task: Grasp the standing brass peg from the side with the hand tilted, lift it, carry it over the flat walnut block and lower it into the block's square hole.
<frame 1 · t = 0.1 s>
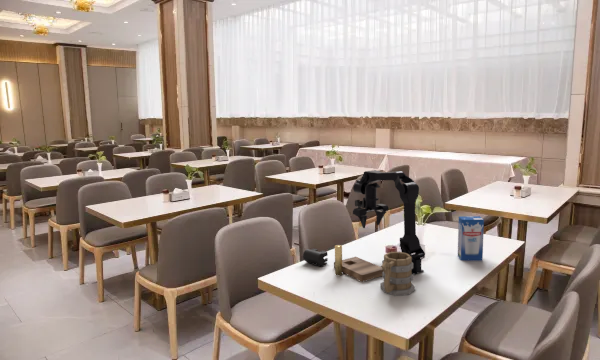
hand: (370, 226, 214), 15 cm above the table, tool pointing down, fingers open, 9 cm apart
hole block: (358, 271, 194), on the table
tankard: (393, 292, 171), on the table
milk carton: (469, 258, 207), on the table
end cap: (315, 264, 205), on the table
peg: (338, 274, 191), on the table
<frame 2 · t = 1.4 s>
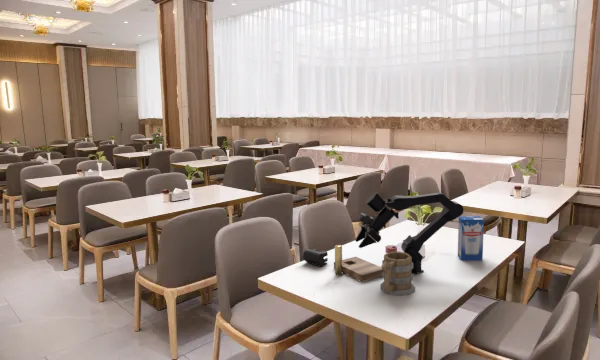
hand: (357, 244, 190), 13 cm above the table, tool tilted 45°, fingers open, 9 cm apart
nothing on the table moved.
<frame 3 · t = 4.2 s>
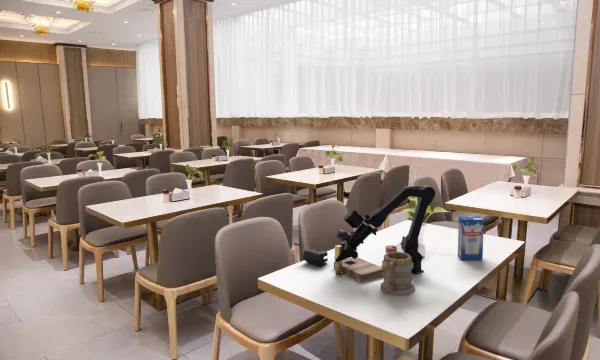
hand: (335, 260, 190), 7 cm above the table, tool tilted 45°, fingers closed on peg, 3 cm apart
peg: (338, 274, 191), on the table, touching gripper
everything else where it was.
when the fingers open (8 cm above the table, at t = 7.3 s): peg drops 1 cm, resting in hole block.
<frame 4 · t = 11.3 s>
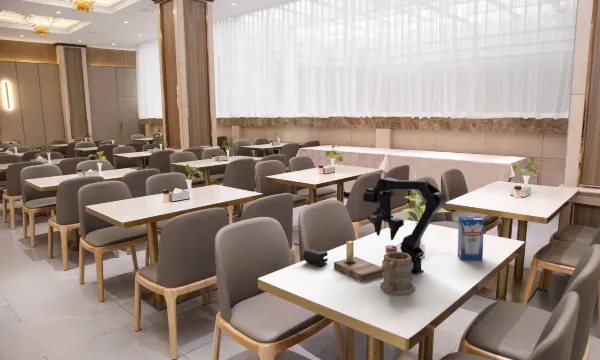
hand: (385, 237, 200), 13 cm above the table, tool pointing down, fingers open, 9 cm apart
peg: (350, 269, 197), resting in hole block
everything else where it was.
at the end: peg 0.0 cm from the target spot in the hole block, point 0.0 cm above the hole block's base; peg tilted 0°; the gripper is holding nothing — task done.
